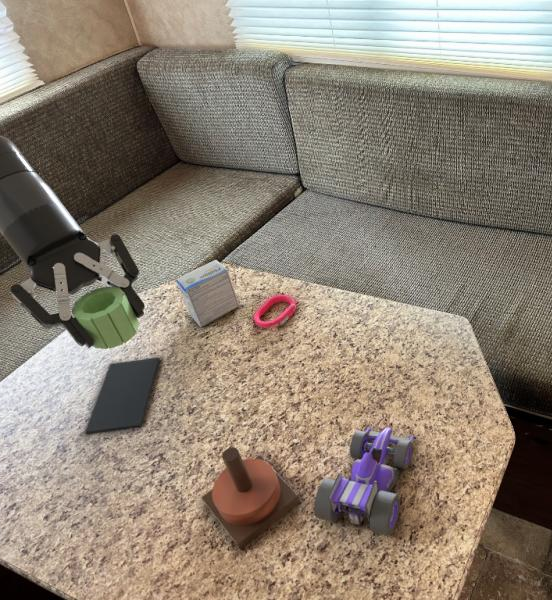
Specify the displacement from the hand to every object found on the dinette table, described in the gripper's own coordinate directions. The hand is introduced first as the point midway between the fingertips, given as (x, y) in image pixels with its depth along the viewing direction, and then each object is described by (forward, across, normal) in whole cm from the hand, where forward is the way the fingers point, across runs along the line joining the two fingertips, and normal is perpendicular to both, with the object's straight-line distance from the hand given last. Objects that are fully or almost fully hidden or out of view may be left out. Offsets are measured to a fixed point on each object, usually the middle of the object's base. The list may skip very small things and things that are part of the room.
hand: (116, 329), depth 75 cm
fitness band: (+9, +26, +21) cm, 34 cm away
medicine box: (+2, +20, +28) cm, 34 cm away
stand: (+28, +1, +1) cm, 28 cm away
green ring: (0, 0, +2) cm, 2 cm away
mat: (+6, -1, +24) cm, 24 cm away
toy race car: (+35, +13, -6) cm, 38 cm away
